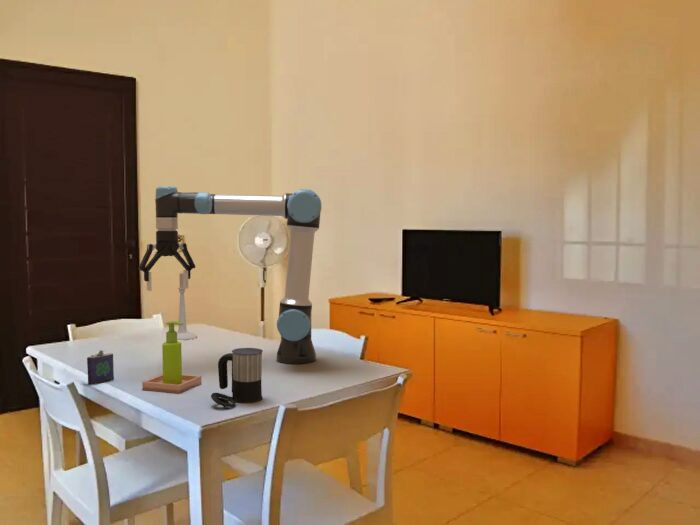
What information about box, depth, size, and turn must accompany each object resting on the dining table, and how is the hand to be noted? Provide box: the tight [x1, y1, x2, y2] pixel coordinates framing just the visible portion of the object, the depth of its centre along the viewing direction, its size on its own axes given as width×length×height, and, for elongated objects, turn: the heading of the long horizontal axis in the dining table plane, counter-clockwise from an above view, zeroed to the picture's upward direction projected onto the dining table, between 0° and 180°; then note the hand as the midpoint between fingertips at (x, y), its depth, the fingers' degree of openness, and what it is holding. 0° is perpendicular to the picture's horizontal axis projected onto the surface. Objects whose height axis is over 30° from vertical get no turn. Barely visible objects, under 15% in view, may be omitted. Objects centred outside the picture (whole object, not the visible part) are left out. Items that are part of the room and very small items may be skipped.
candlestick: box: [176, 272, 198, 341], centre depth 294 cm, size 13×13×30 cm
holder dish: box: [142, 373, 202, 394], centre depth 208 cm, size 14×13×2 cm
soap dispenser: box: [161, 321, 184, 385], centre depth 208 cm, size 6×7×20 cm
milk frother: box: [210, 347, 264, 409], centre depth 191 cm, size 14×16×15 cm
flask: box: [86, 349, 115, 386], centre depth 214 cm, size 9×3×11 cm, turn 144°
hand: (167, 289), depth 232 cm, fingers open, 13 cm apart
